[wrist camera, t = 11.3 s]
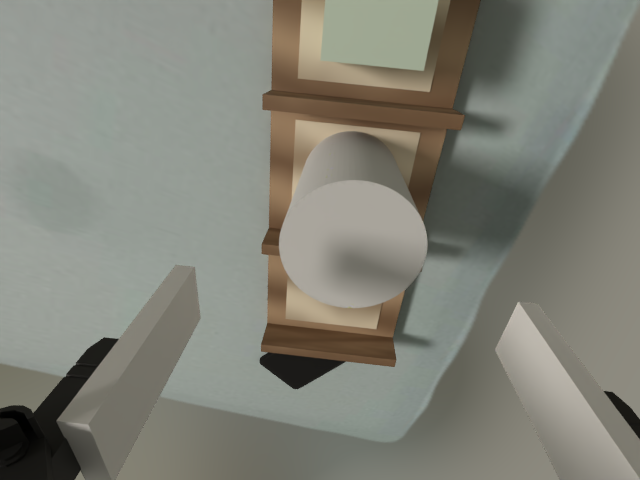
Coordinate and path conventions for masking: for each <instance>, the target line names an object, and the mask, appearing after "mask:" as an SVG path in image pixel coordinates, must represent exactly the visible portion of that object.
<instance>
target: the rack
mask: <svg viewBox="0 0 640 480" xmlns="http://www.w3.org/2000/svg"><path fill="white" fill-rule="evenodd" d="M480 1H481V0H439V1H438V6H437V10H436V15H435V20H434V25H433V29H432V34H431V39H430V43H429V48H428V53H427V58H426V62H425V67H424V71H419V70H409V69H399V68H389V67H379V66H369V65H360V64H350V63H340V62H330V61H320V60H321V48H322V35H323V22H324V9H325V0H273V36H272V90H271V91H269V92H267V93H265V94H263V110H270V111H271V150H270V207H269V229H268V231H267V234H266V236H265V238H264V240H263V243H262V254H266V255H269V263H268V320H267V326H266V330H265V333H264V337H263V340H262V343H261V351H262V352H270V353H279V354H288V355H296V356H305V357H313V358H322V359H330V360H339V361H348V362H356V363H365V364H373V365H382V366H391V367H395V363H396V355H395V349H394V343H393V334H394V330H395V327H396V323H397V319H398V315H399V311H400V307H401V304H402V300H403V296H404V292H405V290H404V291H403V292H401V293H400V294H399V295H397V296H395V297H394V298H392V299H390V300H388V301H386V302H383V303H381V304H377V305H374V306H370V307H363V308H342V307H336V306H332V305H328V304H325V303H322V302H320V301H318V300H316V299H314V298H312V297H310V296H309V295H307V294H306V293H304V292H303V291H302V290H301V289H299V288H298V287H297V286H296V285H295V284H294V282H293V281H292V280H291V279H290V277H289V276H288V274H287V273H286V271H285V269H284V267H283V264H282V261H281V257H280V252H279V237H280V232H281V228H282V225H283V222H284V220H285V217H286V214H287V212H288V209H289V206H290V203H291V201H292V198H293V195H294V193H295V190H296V187H297V185H298V182H299V179H300V176H301V174H302V171H303V168H304V166H305V163H306V160H307V158H308V156H309V154H310V153H311V151H312V150H313V149H314V148H315V147H316V145H318V144H319V143H320V142H321V141H322V140H324V139H325V138H327V137H329V136H331V135H333V134H336V133H340V132H345V131H358V132H363V133H367V134H369V135H372V136H374V137H376V138H377V139H379V140H380V141H382V142H383V143H384V144H385V145H386V146H387V147H388V149H389V150H390V151H391V153H392V155H393V156H394V159H395V161H396V163H397V165H398V167H399V170H400V172H401V174H402V176H403V179H404V181H405V183H406V185H407V188H408V190H409V192H410V194H411V196H412V199H413V201H414V203H415V205H416V208H417V210H418V212H419V214H420V216H421V219H422V221H423V219H424V215H425V212H426V208H427V204H428V200H429V196H430V192H431V189H432V185H433V181H434V177H435V173H436V169H437V166H438V162H439V158H440V154H441V150H442V146H443V143H444V139H445V135H446V131H447V129H453V130H461V128H462V124H463V121H464V117H465V115H463V114H461V113H460V112H458V111H456V110H454V109H452V108H453V104H454V100H455V97H456V93H457V89H458V85H459V81H460V77H461V74H462V70H463V66H464V62H465V58H466V54H467V51H468V47H469V43H470V39H471V35H472V32H473V28H474V24H475V20H476V16H477V12H478V9H479V5H480ZM421 270H422V269H421ZM420 272H421V271H420Z"/></svg>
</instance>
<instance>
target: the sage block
mask: <svg viewBox="0 0 640 480" xmlns="http://www.w3.org/2000/svg"><path fill="white" fill-rule="evenodd" d="M438 1H439V0H325V9H324V22H323V35H322V48H321V60H320V61H330V62H340V63H350V64H360V65H369V66H379V67H389V68H399V69H409V70H419V71H424V67H425V62H426V58H427V53H428V48H429V43H430V39H431V34H432V29H433V25H434V20H435V15H436V10H437V6H438Z"/></svg>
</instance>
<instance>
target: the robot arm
mask: <svg viewBox="0 0 640 480" xmlns="http://www.w3.org/2000/svg"><path fill="white" fill-rule="evenodd" d="M199 320H200V309H199V301H198V292H197V283H196V275H195V267H190V266H181V265H175V267H174V268H173V269H172V271H171V272H170V273H169V275H168V276H167V277H166V279H165V280H164V281H163V282H162V284H161V285H160V286H159V288H158V289H157V290H156V292H155V293H154V294H153V295H152V297H151V298H150V299H149V301H148V302H147V303H146V305H145V306H144V307H143V309H142V310H141V311H140V312H139V314H138V315H137V316H136V318H135V319H134V320H133V322H132V323H131V324H130V325H129V327H128V328H127V329H126V331H125V332H124V333H123V335H122V336H121V337H120V338H119V339H113V338H103V339H101V340H100V341H98V342H97V343H95V344H94V345H93V346H91V347H90V348H88V349H87V350H86V352H85V353H84V354H83V355H82V356H81V357H80V359H79V360H78V361H77V362H76V365H75V366H73V367H72V368H71V369H70V371H69V372H68V373H67V374H66V377H64V378H63V379H62V380H61V381H60V382H59V384H58V385H57V386H56V387H55V388H54V389H53V391H52V392H51V393H50V394H49V396H48V397H47V398H46V399H45V400H44V401H43V402H42V404H41V405H40V406H39V407H38V408H37V410H36V411H35V412H34V413H32V411H31V409H29V408H27V407H25V406H8V407H5V408H1V409H0V480H74V479H75V478H76V476H77V475H78V473H79V472H80V470H81V472H82V474H83V476H84V478H85V480H115V479H116V478H117V476H118V474H119V472H120V470H121V468H122V466H123V464H124V462H125V460H126V458H127V457H128V455H129V453H130V451H131V449H132V447H133V445H134V443H135V441H136V440H137V438H138V436H139V434H140V432H141V430H142V428H143V426H144V424H145V422H146V421H147V419H148V417H149V415H150V413H151V411H152V409H153V407H154V405H155V403H156V402H157V400H158V398H159V396H160V394H161V392H162V390H163V388H164V386H165V385H166V383H167V381H168V379H169V377H170V375H171V373H172V371H173V369H174V367H175V366H176V364H177V362H178V360H179V358H180V356H181V354H182V352H183V350H184V348H185V347H186V345H187V343H188V341H189V339H190V337H191V335H192V333H193V331H194V329H195V328H196V326H197V324H198V322H199ZM495 351H496V353H497V355H498V357H499V359H500V361H501V363H502V365H503V367H504V369H505V371H506V373H507V375H508V377H509V379H510V381H511V383H512V385H513V387H514V389H515V391H516V393H517V395H518V397H519V399H520V401H521V403H522V405H523V407H524V409H525V411H526V413H527V415H528V417H529V419H530V421H531V423H532V425H533V427H534V429H535V431H536V433H537V435H538V437H539V439H540V441H541V443H542V445H543V447H544V449H545V451H546V453H547V455H548V457H549V459H550V461H551V463H552V465H553V467H554V469H555V471H556V473H557V475H558V477H559V479H560V480H640V419H639V418H638V417H637V415H636V414H635V413H634V412H633V410H632V409H631V408H630V407H629V406H628V405H627V404H626V403H625V402H623V401H622V400H621V399H620V398H619V397H617V396H616V395H615V394H614V393H613V392H607V391H603V390H602V389H601V387H600V386H599V385H598V383H597V382H596V381H595V379H594V378H593V377H592V375H591V374H590V373H589V371H588V370H587V369H586V367H585V366H584V365H583V363H582V362H581V361H580V359H579V358H578V357H577V356H576V354H575V353H574V352H573V350H572V349H571V348H570V346H569V345H568V344H567V342H566V341H565V340H564V338H563V337H562V336H561V334H560V333H559V332H558V331H557V329H556V328H555V326H554V325H553V324H552V322H551V321H550V320H549V318H548V317H547V316H546V314H545V313H544V312H543V310H542V309H541V308H540V306H539V305H538V304H536V303H527V302H518V303H517V306H516V308H515V310H514V312H513V314H512V316H511V318H510V320H509V322H508V324H507V326H506V328H505V330H504V332H503V334H502V336H501V339H500V341H499V343H498V345H497V347H496V349H495Z"/></svg>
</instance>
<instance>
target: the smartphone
mask: <svg viewBox="0 0 640 480" xmlns="http://www.w3.org/2000/svg"><path fill="white" fill-rule="evenodd" d="M344 362H346V361H339V360H330V359H322V358H313V357H305V356H296V355H288V354H279V353H270V352H268V353H267V354H265V355H264V356H262V357H261V358H260V364H261V365H262V366H264V367H265V368H266V369H268V370H269V371H270V372H272V373H273V374H274V375H276V376H277V377H278V378H280V379H281V380H282V381H284V382H285V383H286V384H288V385H289V386H290V387H292V388H293V389H299V388H301V387H302V386H304V385H306V384H308V383H309V382H311V381H313V380H315V379H316V378H318V377H320V376H321V375H323V374H325V373H327V372H328V371H330V370H332V369H334V368H335V367H337V366H339V365H341V364H342V363H344Z"/></svg>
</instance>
